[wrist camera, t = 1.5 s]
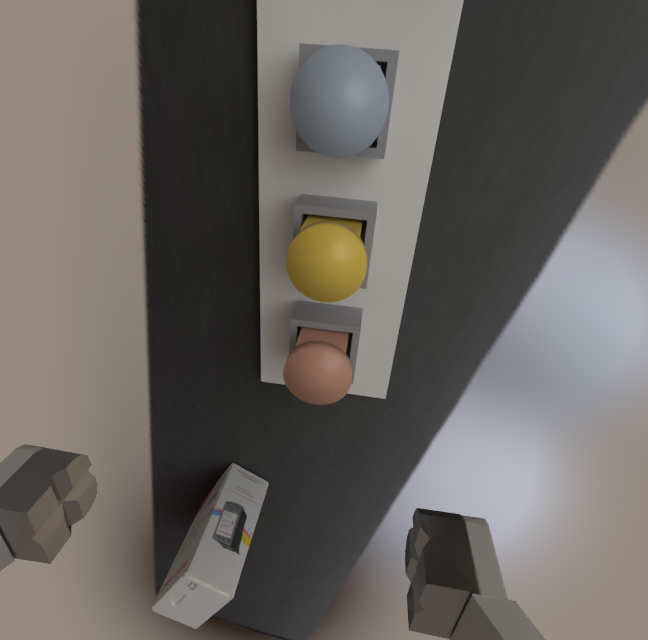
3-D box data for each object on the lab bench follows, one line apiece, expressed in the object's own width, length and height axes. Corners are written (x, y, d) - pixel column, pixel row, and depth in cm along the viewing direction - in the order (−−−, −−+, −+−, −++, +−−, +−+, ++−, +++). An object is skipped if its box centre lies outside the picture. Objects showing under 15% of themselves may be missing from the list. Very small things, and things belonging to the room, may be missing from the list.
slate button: (307, 51, 21) (291, 40, 17) (393, 57, 21) (396, 48, 17) (304, 144, 23) (288, 153, 19) (381, 151, 23) (381, 162, 19)
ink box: (237, 517, 47) (197, 633, 37) (199, 498, 46) (147, 612, 36) (272, 480, 43) (237, 600, 32) (231, 458, 42) (182, 574, 32)
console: (261, -29, 22) (238, -54, 18) (464, -17, 21) (480, -40, 17) (264, 374, 36) (251, 404, 32) (385, 391, 35) (385, 423, 31)
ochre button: (301, 202, 25) (286, 221, 21) (373, 209, 25) (372, 230, 21) (298, 269, 27) (284, 297, 23) (364, 276, 27) (361, 306, 23)
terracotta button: (296, 311, 29) (283, 344, 25) (358, 319, 29) (355, 354, 25) (294, 362, 31) (282, 399, 27) (351, 369, 31) (347, 408, 27)
